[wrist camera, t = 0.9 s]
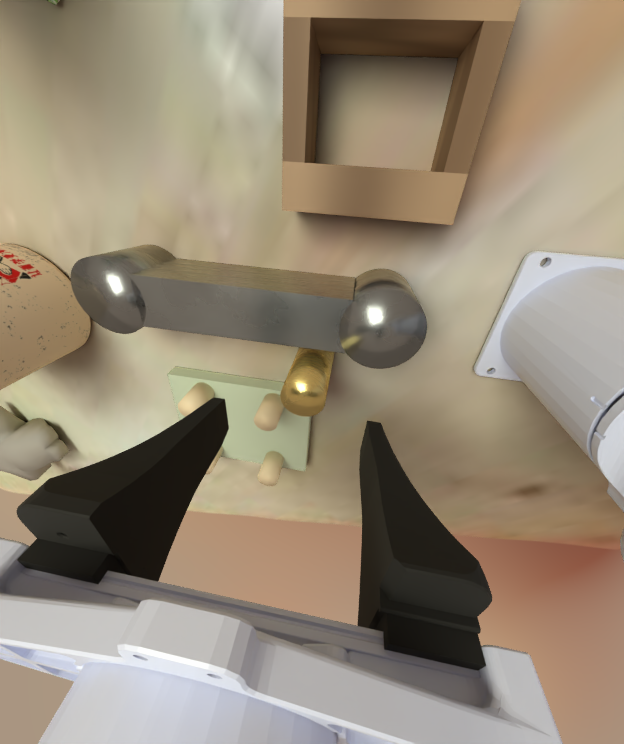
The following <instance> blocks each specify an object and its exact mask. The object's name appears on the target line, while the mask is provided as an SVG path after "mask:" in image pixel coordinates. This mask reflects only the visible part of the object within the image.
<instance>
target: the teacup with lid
mask: <svg viewBox="0 0 624 744" xmlns="http://www.w3.org/2000/svg"><path fill="white" fill-rule="evenodd" d="M90 328H91V323H90V317H89V315H88V314H87V313H86V312H85V311H84V310H83V309H82V307H81V306H80V304H79V303H78V301H77V299H76V297H75V295H74V293H73V290H72V286H71V281H70V280H69V279H68V278H67V277H66V276H65V275H64V274H63V273H62V272H61V271H60V270H59V269H58V268H57V267H56V266H55V265H53V264H52V263H51V262H49V261H48V260H47V259H45V258H44V257H42V256H40V255H39V254H37V253H35V252H33V251H31V250H29V249H27V248H24V247H21V246H18V245H14V244H8V243H0V390H1V389H3V388H5V387H6V386H8V385H10V384H12V383H14V382H16V381H18V380H20V379H22V378H23V377H25V376H27V375H29V374H31V373H33V372H35V371H37V370H39V369H40V368H42V367H44V366H46V365H48V364H50V363H52V362H54V361H55V360H57V359H59V358H61V357H63V356H65V355H67V354H69V353H71V352H72V351H74V350H76V349H78V348H80V347H81V346H82V345H84V344H85V342H86V341H87V339H88V337H89V334H90Z"/></svg>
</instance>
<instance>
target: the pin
mask: <svg viewBox="0 0 624 744" xmlns="http://www.w3.org/2000/svg"><path fill="white" fill-rule="evenodd" d="M333 358H334V352H332V351H324V350H317V349H310V348H302V347H299V350H298V352H297V354H296V357H295V359H294V361H293V364H292V366H291V369H290V371H289V373H288V376H287V378H286V380H285V383H284V385H283V387H282V390H281V393H280V399H281V402H282V404H283V406H284V407H285V408H286V409H287V410H288V411H290V412H291V413H293V414H295V415H298V416H304V417H308V416H313V415H316V414H318V413H319V412H321V411H322V409H323V408H324V406H325V402H326V396H327V391H328V385H329V380H330V374H331V369H332V363H333Z"/></svg>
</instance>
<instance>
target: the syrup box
mask: <svg viewBox="0 0 624 744" xmlns="http://www.w3.org/2000/svg"><path fill="white" fill-rule="evenodd" d="M48 1H49V2H51V3H52V4H54V5H57V3H58V2H59V0H48Z"/></svg>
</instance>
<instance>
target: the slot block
mask: <svg viewBox="0 0 624 744" xmlns="http://www.w3.org/2000/svg"><path fill="white" fill-rule="evenodd" d="M520 3H521V0H284V26H283V169H282V210H286V211H297V212H309V213H320V214H332V215H343V216H355V217H366V218H378V219H389V220H401V221H413V222H424V223H436V224H447V225H453V222H454V219H455V215H456V212H457V209H458V206H459V202H460V199H461V196H462V193H463V189H464V186H465V183H466V179H467V176H468V173H469V170H470V166H471V163H472V160H473V157H474V153H475V150H476V147H477V143H478V140H479V137H480V134H481V130H482V127H483V124H484V121H485V117H486V114H487V111H488V108H489V104H490V101H491V98H492V94H493V91H494V88H495V85H496V81H497V78H498V75H499V72H500V68H501V65H502V62H503V58H504V55H505V52H506V49H507V45H508V42H509V39H510V36H511V32H512V29H513V26H514V22H515V19H516V16H517V13H518V9H519V6H520ZM321 54H350V55H382V56H413V57H445V58H458V62H457V66H456V70H455V74H454V78H453V82H452V86H451V90H450V94H449V99H448V103H447V107H446V111H445V115H444V119H443V123H442V127H441V131H440V135H439V139H438V144H437V148H436V152H435V156H434V160H433V164H432V168H431V171H417V170H403V169H389V168H374V167H360V166H345V165H331V164H317V163H315V150H316V133H317V116H318V98H319V81H320V64H321Z"/></svg>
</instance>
